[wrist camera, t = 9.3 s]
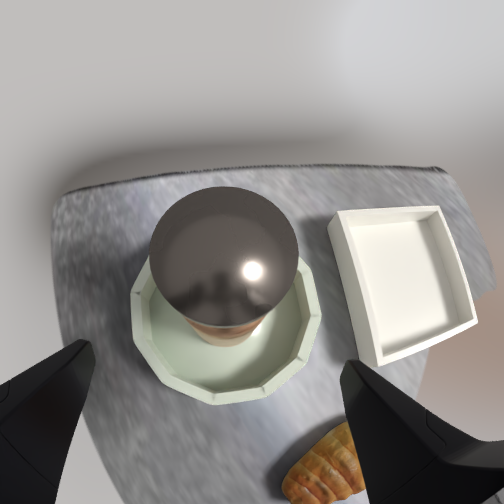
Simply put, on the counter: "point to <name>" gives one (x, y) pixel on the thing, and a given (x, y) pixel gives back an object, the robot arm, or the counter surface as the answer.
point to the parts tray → (400, 280)
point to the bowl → (225, 358)
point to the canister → (223, 261)
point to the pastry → (326, 471)
